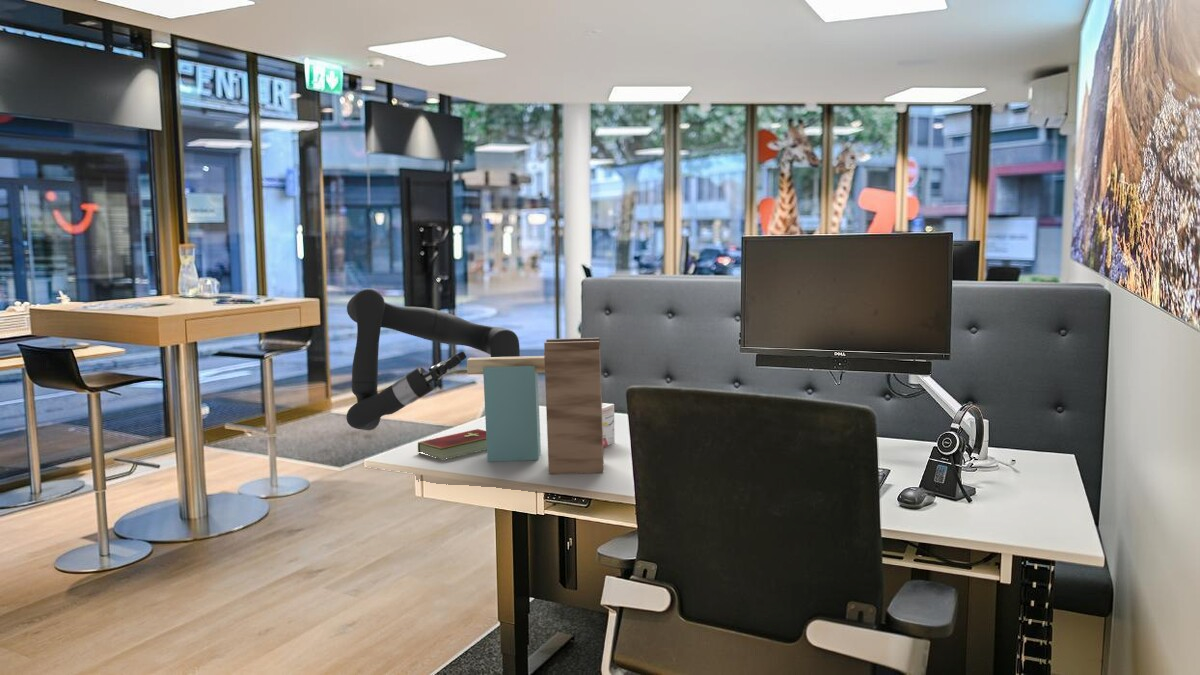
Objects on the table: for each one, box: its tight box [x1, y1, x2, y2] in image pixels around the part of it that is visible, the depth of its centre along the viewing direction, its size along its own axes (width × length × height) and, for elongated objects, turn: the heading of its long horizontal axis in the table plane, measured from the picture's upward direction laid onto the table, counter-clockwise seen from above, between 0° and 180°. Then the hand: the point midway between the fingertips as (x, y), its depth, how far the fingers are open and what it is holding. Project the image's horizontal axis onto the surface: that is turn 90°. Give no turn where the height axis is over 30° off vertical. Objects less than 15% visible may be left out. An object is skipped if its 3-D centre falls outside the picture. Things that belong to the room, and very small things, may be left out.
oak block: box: [466, 355, 545, 375], centre depth 237 cm, size 4×25×4 cm, turn 89°
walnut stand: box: [543, 337, 605, 475], centre depth 225 cm, size 10×14×34 cm
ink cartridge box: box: [602, 402, 616, 449], centre depth 250 cm, size 9×5×15 cm, turn 149°
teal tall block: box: [482, 366, 542, 462], centre depth 239 cm, size 8×14×26 cm, turn 89°
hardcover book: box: [417, 428, 487, 460], centre depth 250 cm, size 12×21×4 cm, turn 134°
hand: (462, 356), depth 237 cm, fingers open, 8 cm apart
